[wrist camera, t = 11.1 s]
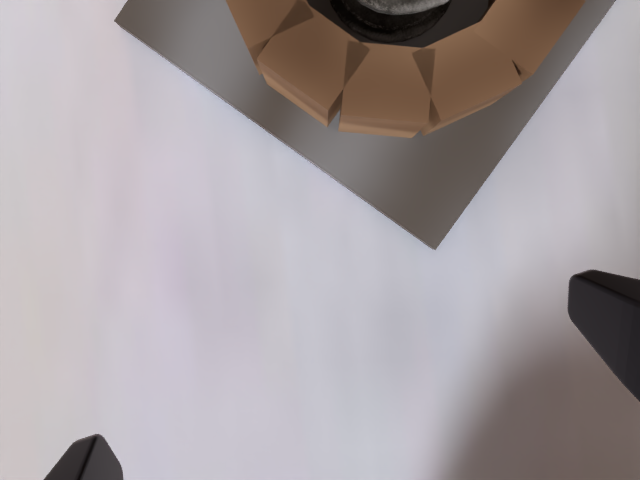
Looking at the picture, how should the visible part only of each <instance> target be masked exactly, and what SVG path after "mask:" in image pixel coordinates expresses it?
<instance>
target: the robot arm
mask: <svg viewBox="0 0 640 480" xmlns="http://www.w3.org/2000/svg"><path fill="white" fill-rule="evenodd" d="M568 313H569V316H570V318H571V320H572V322H573V323H574V324H575V326H576V327H577V328H578V329H579V331H580V332H581V333H582V334H583V336H584V337H585V338H586V339H587V341H588V342H589V343H590V344H591V345H592V347H593V348H594V349H595V350H596V352H597V353H598V354H599V355H600V357H601V358H602V359H603V360H604V362H605V363H606V364H607V365H608V367H609V368H610V369H611V370H612V371H613V373H614V374H615V375H616V376H617V377H618V379H619V380H620V381H621V382H622V383H623V384H624V385H625V387H626V388H627V389H628V390H629V391H630V392H631V393H632V394H633V395H634V396H635V397H636V398H637V399H638V400H639V401H640V280H638V279H633V278H629V277H624V276H620V275H616V274H611V273H607V272H602V271H598V270H587V271H584V272H581V273H578V274H575V275H573V276H572V277H571V278H570V280H569V293H568ZM44 480H123V471H122V467H121V465H120V463H119V461H118V459H117V458H116V456H115V455H114V453H113V451H112V450H111V448H110V446H109V445H108V443H107V442H106V440H105V439H104V437H103V436H101V435H99V434H95V435H92V436H89V437H86V438H83V439H80V440H77V441H75V442H74V443H73V444H72V445H71V446H70V447H69V448H68V450H67V451H66V452H65V453H64V455H63V456H62V457H61V458H60V460H59V461H58V462H57V464H56V465H55V466H54V467H53V469H52V470H51V471H50V472H49V474H48V475H47V476H46V477H45V479H44Z"/></svg>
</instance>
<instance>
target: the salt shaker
mask: <svg viewBox="0 0 640 480" xmlns="http://www.w3.org/2000/svg"><path fill="white" fill-rule="evenodd" d="M451 1H452V0H330V3H331V6H332V8H333V9H334V11H335V12H336V14H337V15H338V17H339V18H340V20H341V21H342V22H343V23H344V24H346V25H347V26H348V27H349V28H350V29H351V30H352V31H353V32H355V33H357V34H359V35H361V36H363V37H365V38H367V39H369V40H374V41H379V42H385V43H391V42H404V41H406V40H409V39H412V38H415V37H418V36H420V35H422V34H423V33H425V32H426V31H427V30H429V29H430V28H432V27H433V26H434V25H435V24H436V23H437V22H438V21H439V20H440V18H441V17H442V16H443V15H444V14H445V13H446V11H447V9H448V7H449V5H450V3H451Z"/></svg>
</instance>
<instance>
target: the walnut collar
mask: <svg viewBox="0 0 640 480" xmlns="http://www.w3.org/2000/svg"><path fill="white" fill-rule="evenodd" d="M615 1H616V0H452V1H451V3H450V5H449V7H448V9H447V11H446V13H445V14H444V15H443V16H442V17H441V18H440V20H439V21H438V22H437V23H436V24H435V25H434V26H433V27H432V28H430V29H429V30H427V31H426V32H425V33H423V34H422V35H420V36H418V37H415V38H412V39H409V40H406V41H404V42H391V43H385V42H379V41H374V40H369V39H367V38H365V37H363V36H361V35H359V34H357V33H355V32H353V31H352V30H351V29H350V28H349V27H348V26H347V25H346V24H344V23H343V22H342V21H341V20H340V18H339V17H338V15H337V14H336V12H335V11H334V9H333V8H332V6H331V3H330V0H128V1H127V2H126V4H125V5H124V7H123V8H122V10H121V11H120V13H119V14H118V16H117V17H116V19H115V20H114V21H115V22H116V23H117V24H118V25H119V26H120V27H121V28H123V29H124V30H126V31H127V32H128V33H130V34H131V35H133V36H134V37H135V38H137V39H138V40H140V41H141V42H142V43H144V44H145V45H147V46H148V47H149V48H151V49H152V50H154V51H155V52H157V53H158V54H159V55H161V56H162V57H164V58H165V59H166V60H168V61H169V62H171V63H172V64H173V65H175V66H176V67H178V68H179V69H180V70H182V71H183V72H185V73H186V74H187V75H189V76H190V77H192V78H193V79H194V80H196V81H197V82H199V83H200V84H201V85H203V86H204V87H206V88H207V89H208V90H210V91H211V92H213V93H214V94H215V95H217V96H218V97H220V98H221V99H222V100H224V101H225V102H227V103H228V104H229V105H231V106H232V107H234V108H235V109H236V110H238V111H239V112H241V113H242V114H243V115H245V116H246V117H248V118H249V119H251V120H252V121H253V122H255V123H256V124H258V125H259V126H260V127H262V128H263V129H265V130H266V131H267V132H269V133H270V134H272V135H273V136H274V137H276V138H277V139H279V140H280V141H281V142H283V143H284V144H286V145H287V146H288V147H290V148H291V149H293V150H294V151H295V152H297V153H298V154H300V155H301V156H302V157H304V158H305V159H307V160H308V161H309V162H311V163H312V164H314V165H315V166H316V167H318V168H319V169H321V170H322V171H323V172H325V173H326V174H328V175H329V176H330V177H332V178H333V179H335V180H336V181H338V182H339V183H340V184H342V185H343V186H345V187H346V188H347V189H349V190H350V191H352V192H353V193H354V194H356V195H357V196H359V197H360V198H361V199H363V200H364V201H366V202H367V203H368V204H370V205H371V206H373V207H374V208H375V209H377V210H378V211H380V212H381V213H382V214H384V215H385V216H387V217H388V218H389V219H391V220H392V221H394V222H395V223H396V224H398V225H399V226H401V227H402V228H403V229H405V230H406V231H408V232H409V233H410V234H412V235H413V236H415V237H416V238H417V239H419V240H420V241H422V242H423V243H424V244H426V245H427V246H429V247H430V248H432V249H434V250H436V248H437V247H438V246H439V244H440V243H441V241H442V240H443V239H444V237H445V236H446V235H447V233H448V232H449V230H450V229H451V228H452V226H453V225H454V223H455V222H456V221H457V219H458V218H459V217H460V215H461V214H462V212H463V211H464V210H465V208H466V207H467V205H468V204H469V203H470V201H471V200H472V199H473V197H474V196H475V194H476V193H477V192H478V190H479V189H480V187H481V186H482V185H483V183H484V182H485V181H486V179H487V178H488V176H489V175H490V174H491V172H492V171H493V170H494V168H495V167H496V165H497V164H498V163H499V161H500V160H501V158H502V157H503V156H504V154H505V153H506V152H507V150H508V149H509V147H510V146H511V145H512V143H513V142H514V140H515V139H516V138H517V136H518V135H519V134H520V132H521V131H522V129H523V128H524V127H525V125H526V124H527V123H528V121H529V120H530V118H531V117H532V116H533V114H534V113H535V111H536V110H537V109H538V107H539V106H540V105H541V103H542V102H543V100H544V99H545V98H546V96H547V95H548V93H549V92H550V91H551V89H552V88H553V87H554V85H555V84H556V82H557V81H558V80H559V78H560V77H561V75H562V74H563V73H564V71H565V70H566V69H567V67H568V66H569V64H570V63H571V62H572V60H573V59H574V58H575V56H576V55H577V53H578V52H579V51H580V49H581V48H582V46H583V45H584V44H585V42H586V41H587V40H588V38H589V37H590V35H591V34H592V33H593V31H594V30H595V28H596V27H597V26H598V24H599V23H600V22H601V20H602V19H603V17H604V16H605V15H606V13H607V12H608V11H609V9H610V8H611V6H612V5H613V4H614V2H615Z"/></svg>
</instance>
